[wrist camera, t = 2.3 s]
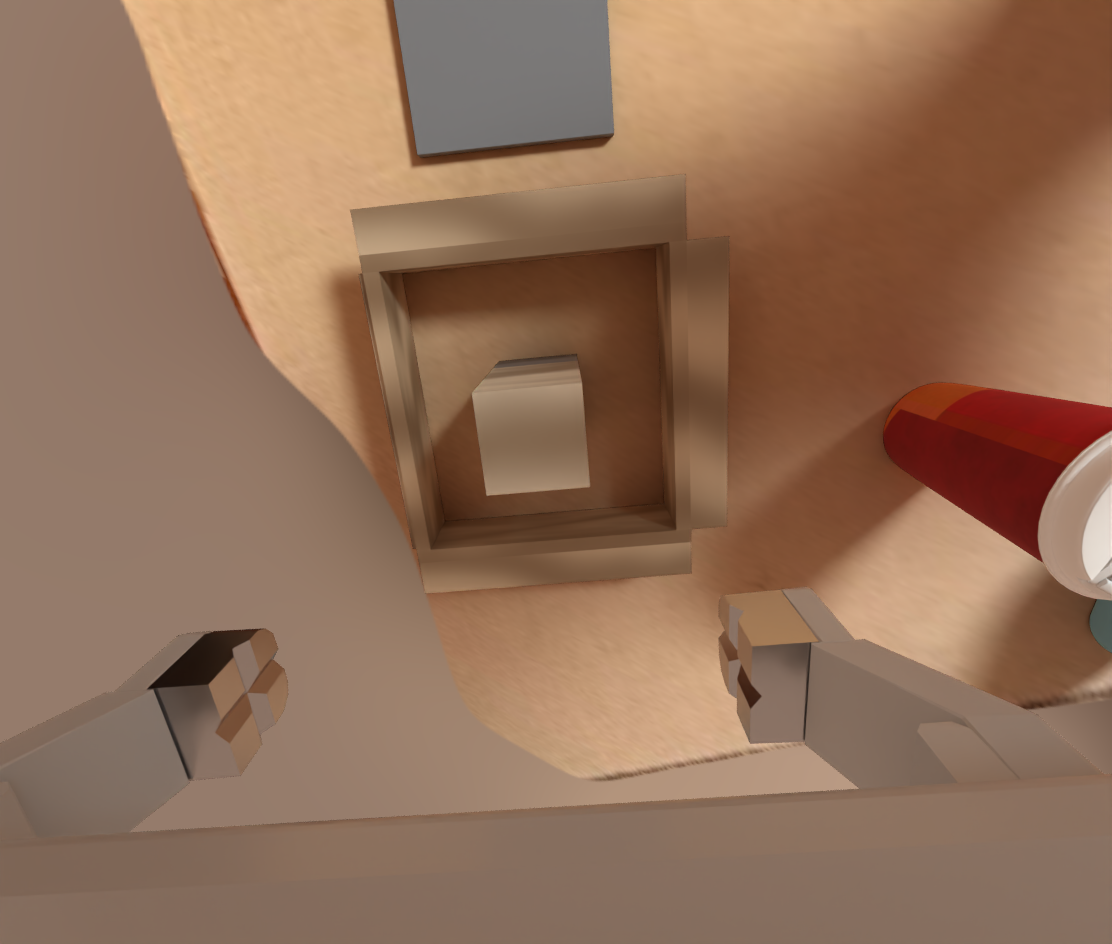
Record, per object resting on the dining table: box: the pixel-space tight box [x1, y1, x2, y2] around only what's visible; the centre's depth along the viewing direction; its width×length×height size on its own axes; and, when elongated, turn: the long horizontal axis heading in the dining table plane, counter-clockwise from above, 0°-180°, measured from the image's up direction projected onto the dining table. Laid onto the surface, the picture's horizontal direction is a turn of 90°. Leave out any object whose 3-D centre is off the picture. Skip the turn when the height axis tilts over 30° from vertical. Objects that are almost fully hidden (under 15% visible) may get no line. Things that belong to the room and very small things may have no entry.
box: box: [472, 354, 590, 496], centre depth 27 cm, size 4×4×10 cm
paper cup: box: [883, 383, 1112, 600], centre depth 26 cm, size 8×8×14 cm
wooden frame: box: [350, 174, 729, 594], centre depth 30 cm, size 21×18×4 cm
